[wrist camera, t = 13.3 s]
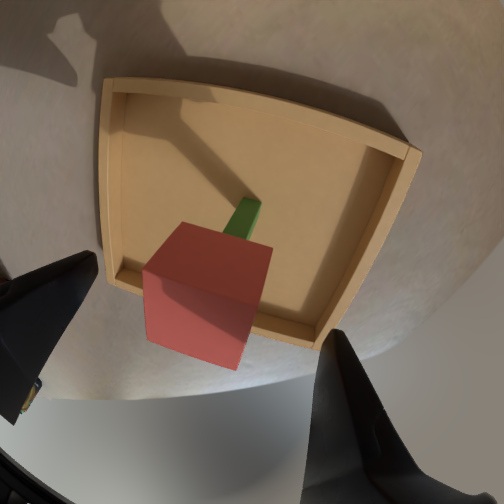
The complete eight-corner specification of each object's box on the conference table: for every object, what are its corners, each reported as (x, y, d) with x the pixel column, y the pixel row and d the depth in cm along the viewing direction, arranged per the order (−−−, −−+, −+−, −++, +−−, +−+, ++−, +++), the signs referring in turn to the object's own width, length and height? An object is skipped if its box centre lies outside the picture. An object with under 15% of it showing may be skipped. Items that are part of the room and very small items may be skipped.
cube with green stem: (288, 188, 15) (258, 306, 7) (272, 241, 17) (236, 371, 9) (226, 171, 15) (141, 268, 8) (217, 225, 17) (146, 340, 9)
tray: (410, 143, 12) (423, 151, 11) (321, 331, 21) (320, 351, 19) (123, 76, 13) (103, 78, 12) (120, 268, 21) (107, 282, 20)
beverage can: (47, 386, 54) (27, 419, 44) (35, 380, 55) (16, 410, 45) (31, 370, 50) (10, 403, 40) (20, 363, 52) (-1, 394, 42)
